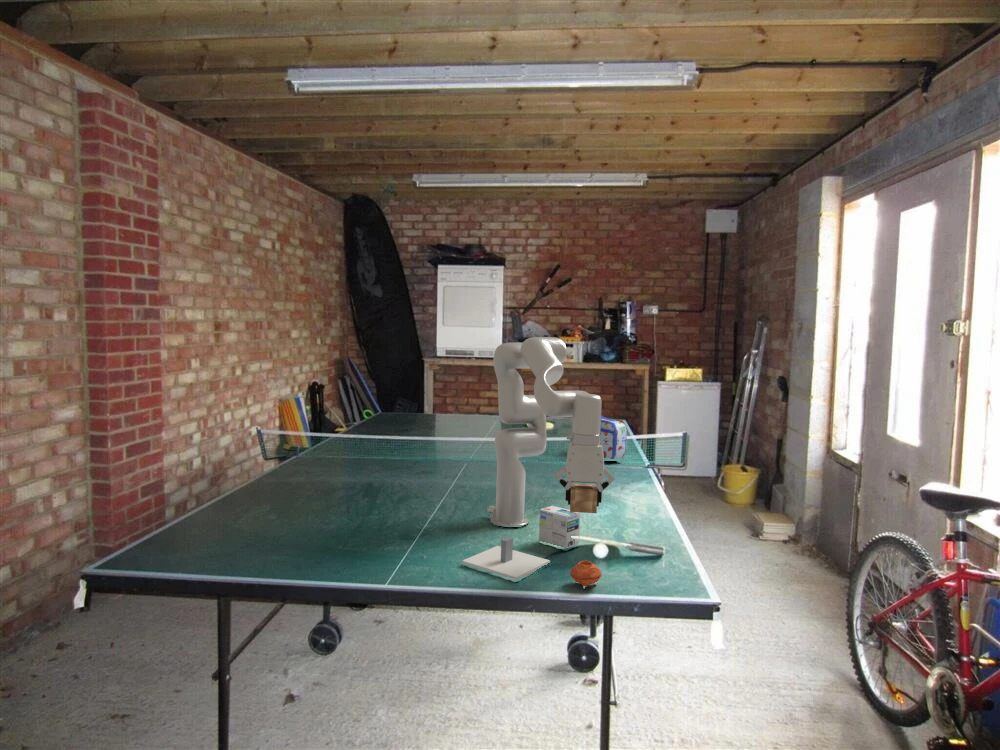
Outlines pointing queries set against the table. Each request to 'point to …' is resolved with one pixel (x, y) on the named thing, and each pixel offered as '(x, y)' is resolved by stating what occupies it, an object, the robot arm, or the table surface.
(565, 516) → the light bulb box
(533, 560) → the plate
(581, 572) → the pot
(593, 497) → the oak collar
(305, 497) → the table surface
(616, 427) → the lunch box
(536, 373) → the robot arm
